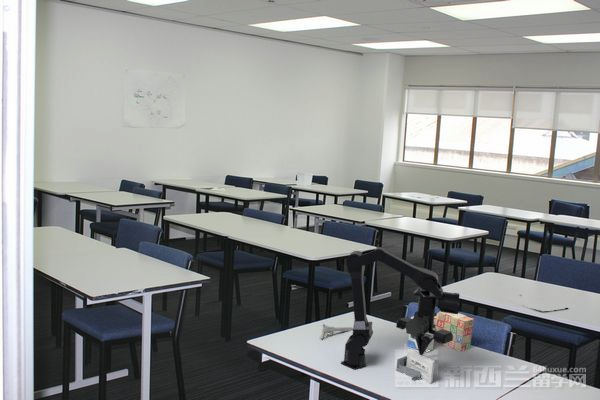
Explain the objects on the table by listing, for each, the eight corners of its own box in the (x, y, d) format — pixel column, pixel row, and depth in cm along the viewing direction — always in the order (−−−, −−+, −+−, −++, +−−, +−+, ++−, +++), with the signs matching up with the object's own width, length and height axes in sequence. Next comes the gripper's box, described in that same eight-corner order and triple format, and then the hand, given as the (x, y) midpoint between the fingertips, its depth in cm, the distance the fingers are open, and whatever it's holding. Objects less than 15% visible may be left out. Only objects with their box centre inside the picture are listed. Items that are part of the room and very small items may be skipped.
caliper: (321, 341, 224) (322, 325, 223) (319, 340, 225) (320, 324, 224) (354, 330, 239) (355, 315, 238) (351, 329, 240) (353, 314, 239)
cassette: (404, 370, 202) (406, 348, 201) (408, 369, 203) (410, 347, 202) (429, 384, 192) (432, 361, 191) (433, 383, 193) (436, 361, 192)
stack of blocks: (416, 334, 240) (420, 304, 239) (426, 331, 244) (429, 302, 243) (461, 351, 224) (464, 320, 222) (470, 348, 228) (474, 318, 226)
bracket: (393, 371, 200) (394, 360, 199) (407, 365, 206) (408, 355, 205) (415, 381, 193) (416, 369, 193) (429, 374, 199) (431, 363, 199)
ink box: (406, 346, 225) (410, 316, 223) (413, 343, 229) (416, 314, 227) (426, 353, 219) (429, 322, 218) (433, 350, 223) (436, 320, 221)
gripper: (389, 305, 195) (384, 350, 197) (438, 321, 182) (432, 369, 184) (407, 300, 203) (403, 343, 205) (456, 315, 190) (450, 361, 192)
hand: (421, 354), depth 196 cm, fingers closed
